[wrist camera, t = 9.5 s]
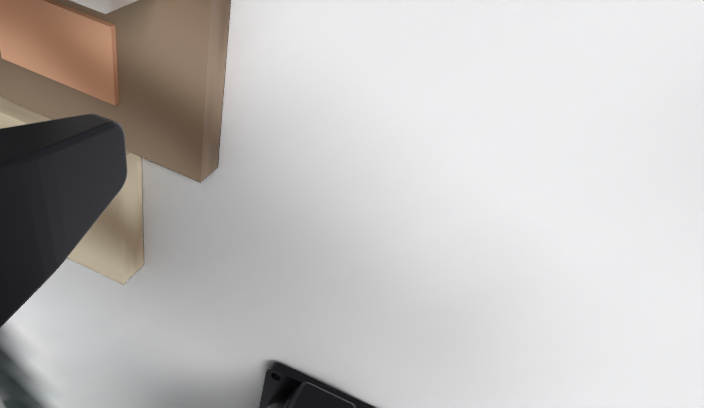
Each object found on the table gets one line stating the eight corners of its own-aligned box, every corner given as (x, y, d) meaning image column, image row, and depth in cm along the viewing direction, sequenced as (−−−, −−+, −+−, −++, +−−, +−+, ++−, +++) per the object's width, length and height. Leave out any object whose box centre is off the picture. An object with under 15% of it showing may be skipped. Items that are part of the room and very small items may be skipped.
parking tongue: (143, 264, 28) (123, 284, 27) (23, 208, 29) (-2, 225, 28) (141, 144, 24) (116, 162, 23) (0, 84, 25) (-31, 98, 24)
